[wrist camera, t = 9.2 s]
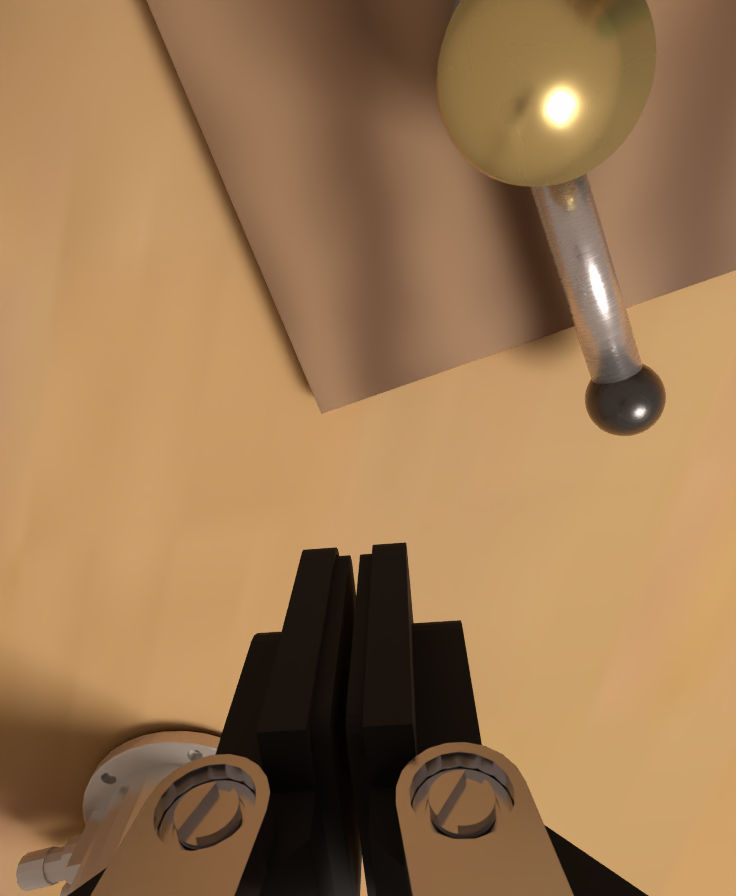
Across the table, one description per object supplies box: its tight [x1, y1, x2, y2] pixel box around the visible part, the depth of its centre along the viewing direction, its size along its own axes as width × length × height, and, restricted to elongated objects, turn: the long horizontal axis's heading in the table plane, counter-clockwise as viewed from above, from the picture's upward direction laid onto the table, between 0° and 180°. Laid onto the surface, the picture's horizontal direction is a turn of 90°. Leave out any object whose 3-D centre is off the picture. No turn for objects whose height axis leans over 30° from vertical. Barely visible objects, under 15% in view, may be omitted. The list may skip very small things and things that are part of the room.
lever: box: [436, 0, 666, 436], centre depth 23 cm, size 16×6×5 cm, turn 23°
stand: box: [147, 0, 736, 414], centre depth 20 cm, size 22×20×10 cm
